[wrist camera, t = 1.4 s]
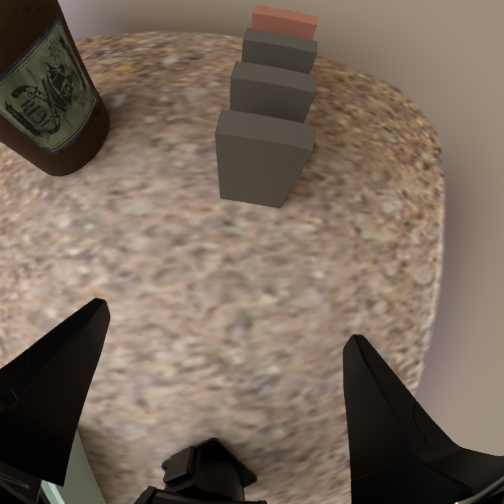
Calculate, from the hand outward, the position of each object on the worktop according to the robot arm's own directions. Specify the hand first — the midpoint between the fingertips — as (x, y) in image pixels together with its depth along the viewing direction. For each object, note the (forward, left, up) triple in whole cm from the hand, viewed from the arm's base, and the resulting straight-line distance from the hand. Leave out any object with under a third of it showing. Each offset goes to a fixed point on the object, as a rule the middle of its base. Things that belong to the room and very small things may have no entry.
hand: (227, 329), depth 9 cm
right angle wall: (-3, +28, -13) cm, 31 cm away
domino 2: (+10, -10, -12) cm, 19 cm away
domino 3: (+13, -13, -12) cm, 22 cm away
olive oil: (+24, +4, -13) cm, 27 cm away
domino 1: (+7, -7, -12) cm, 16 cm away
